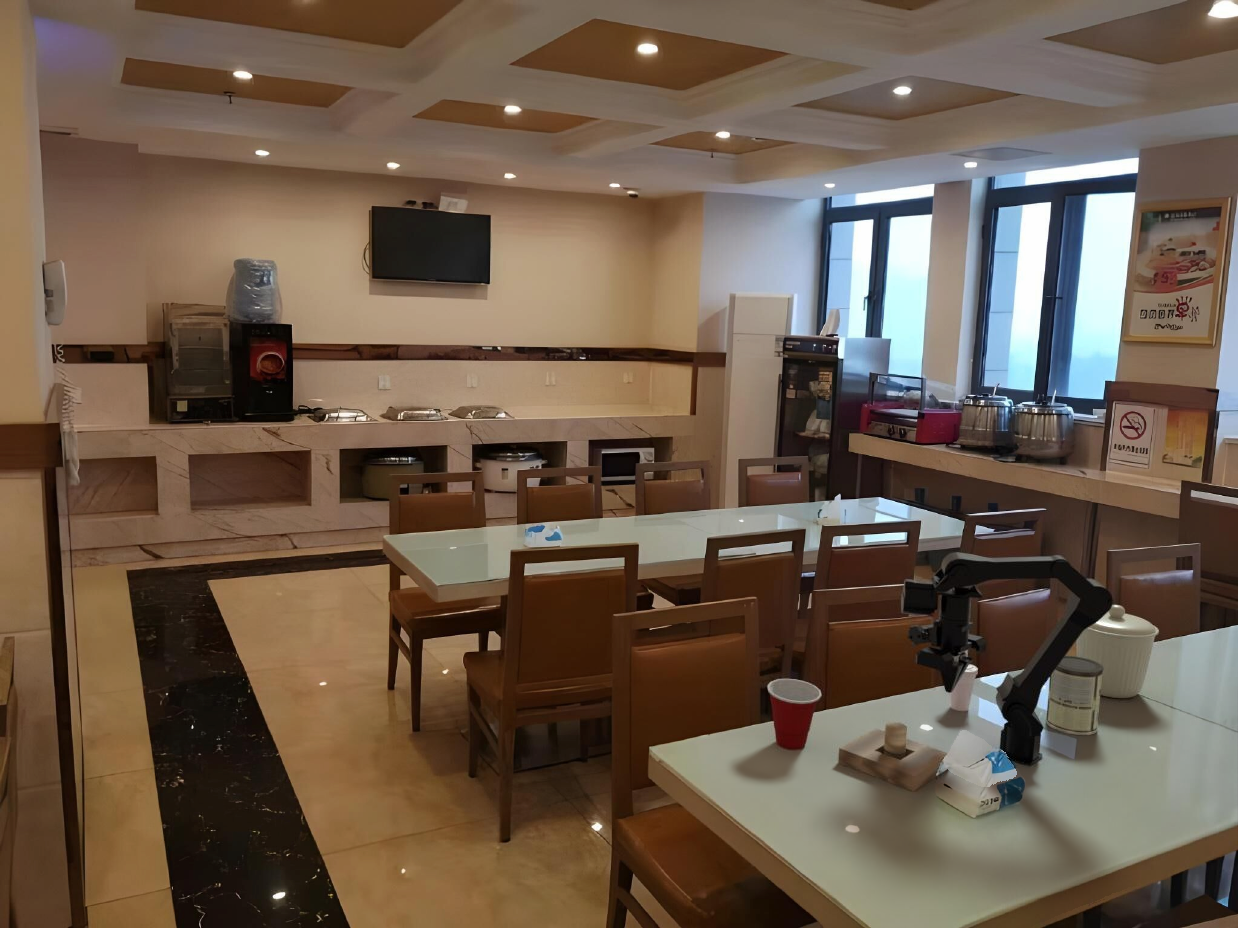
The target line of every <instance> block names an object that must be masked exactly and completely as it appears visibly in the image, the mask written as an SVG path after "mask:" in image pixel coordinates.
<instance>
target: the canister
mask: <svg viewBox="0 0 1238 928" xmlns="http://www.w3.org/2000/svg"><path fill="white" fill-rule="evenodd" d="M1159 633H1160V630H1159V628H1158V627H1156V625H1153V624H1152V623H1151V622H1150V621H1149V620H1146V619H1144V618H1142V617H1139V616H1136V615H1133V614H1129V613H1126V609H1125V608H1124V606H1122V605H1119V604H1113V605H1112V607H1111V609H1110V610H1109V611H1108V612H1107V613H1106V614H1105V615H1104V616H1103V617H1102V618H1101V619H1100V620H1099V621H1098V622H1096V623H1095V624H1093V625H1091V626H1090V627H1088V628H1086V629H1085V630H1084V631H1083V632H1082V633H1081V635H1080V636H1079V638H1078V639H1077V640H1076V642H1075V643H1076V657H1081V658H1086V659H1090V660H1093V661H1095V662H1097V663H1099V664H1101V665H1102V666H1103V668H1104V669H1103V672H1102V682H1101V692H1100V696H1103V697H1107V698H1113V699H1114V698H1115V699H1129V698H1133V697H1136V696H1137V695H1139V693H1140V692H1141V691H1142V689H1143V686H1144V683H1145V680H1146V675H1147V672H1148V668H1149V663H1150V659H1151V656H1152V655H1151V654H1152V651H1153V647H1154V641H1155V638H1156V636H1157V635H1159Z"/></svg>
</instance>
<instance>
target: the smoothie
mask: <svg viewBox="0 0 1238 928" xmlns="http://www.w3.org/2000/svg"><path fill="white" fill-rule="evenodd" d="M965 653H966V657H969V656H968V653H969V650H967V651H965ZM978 669H979V668H978V667H977V666H975V665H974V664H971V663H970V664H969V666H968V667H967V669H966V670H965V672H964V673H963V675H962V677H961V678H960V680H959V681H958V683H957V685H956V686H955V688H954V690H953V691H952V692H951V693H949V695H950V708H951V709H952V710H954V711H958V712H967V711H969V708H970V704H971V700H972V695H973V690H974V685H975V681H976V676H977V675H978V674H979V673H978Z"/></svg>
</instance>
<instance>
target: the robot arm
mask: <svg viewBox="0 0 1238 928" xmlns="http://www.w3.org/2000/svg"><path fill="white" fill-rule="evenodd" d="M1025 579H1026V580H1033V579H1035V580H1037V579H1055V580H1056V579H1057V580H1058V581H1059V582H1060V583H1061V584H1063V585H1064V586H1065V587H1066V588H1067V589H1068V590H1069V591H1070V593H1069V595H1068V597H1067V599H1066V604H1065V606H1064V607H1065V608H1064V611H1063V615H1062V616H1061V618H1060V619H1059V620H1058V621H1057V623H1056V624H1055V626H1054V627H1053V629H1052V630H1051V631H1050V633H1049V634H1048V636H1047V637H1046V639H1044V641H1043V643H1042V644H1041V645H1040V647H1039V648H1038V650H1037V651H1036V652H1035V654H1034V655H1033V656H1032V658H1031V659H1030V661H1029V662H1028V663H1027V665H1026V666H1025V668H1024V669H1023V670H1022V672H1020V673H1019V674H1018V675H1015V676H1014V677H1013V676H1012V675H1010V674H1009V673H1007V674H1006V675H1005V677H1004V678H1003V682H1002V683H1001V684H1000V685H998V686H997V687H996V688H995V689H996V695H995V702H996V705H997V707H998V709H999V711H1000V713H1001V716H1002V717H1003V718H1004V720H1005V721H1006V722H1005V723H1003V728H1002V729H1001V730H1000V739H999V749H1001V750H1003V751H1004V752H1006V754H1007V756H1008V757H1009V760H1011V761H1014V762H1017V763H1020V764H1023V765H1026V766H1032V765H1033V764H1034V763H1036V762H1037V761H1039V760H1040V759H1042V758H1043V753H1041V752H1040V751H1041V750H1040V748H1041V739H1042V732H1043V730H1044V725H1043V723H1042V721H1041V720H1040V718H1039V716H1038V715H1037V713H1036V712H1035V710H1036V708H1037V706H1038V705H1039V704H1038V703H1039V700H1040V697H1041V696H1040V695H1041V692H1042V689H1043V687H1044V686H1045V684H1046V683H1047V682H1048V681H1049V680H1050V676H1051V675H1052V673H1053V672H1054V671H1055V669H1056V668H1057V666H1058V665H1059V664H1060V662H1061V661H1062V660H1063V658H1064V657H1065V656H1067V654H1068V653H1069V651H1070V650H1071V649H1072V647H1073V646H1074V644H1075V643H1076V640H1077V639H1078V638H1079V636H1080V635H1081V633H1082V632H1083V631H1084V630H1085V629H1086V628H1088V627H1090V626H1091V625H1093V624H1095V623H1096V622H1098V621H1099V620H1100V619H1101V618H1102V617H1103V616H1104V615H1105V614H1106V613H1107V612H1108V611H1109V610H1110V609H1111V607H1112V605H1114V599H1113V595H1112V593H1111V592H1110V591H1109V590H1108V589H1107V588H1106V587H1105V586H1104V585H1102V584H1101V583H1100V582H1099V581H1098V580H1095V579H1093V578H1086V577H1085V576H1083V575H1082V574H1081V572H1079V571H1078V570H1076V569H1075V567H1074V566H1072V565H1071V563H1070V562H1069V561H1068V560H1067V559H1066V558H1064V556H1062V555H1060V554H1059V555H1057V554H1054V555H1050V556H1049V555H1048V556H1046V555H1045V556H1014V557H1013V556H1012V557H1011V556H1010V557H987V556H986V557H985V556H981V555H976V554H972V553H966V552H965V553H964V552H957V551H956V552H955V551H954V552H950V553H948V554H947V555H946V556H945V557H944V558H943V559H942V562H941V566H940V568H939V569H938V570H937V571H936V572H935V573H934V574H933V576H931V578H930V580H929V581H926V580H915V579H912V578H910V579H909V578H905V579H904V581H903V582H904V583H903V586H902V592H901V596H900V610H901V612H900V613H901V614H911V615H924V616H932V614H935V612H936V611H938V605H939V603H940V605H939V614H938V616H939V617H938V619H935V620H934V621H933V622H932V623H933V624H925V625H921V624H917V625H911V626H909V629H908V630H907V632H908V634H907V637H906V638H907V639H908V640H909V641H910V642H911V643H912V645H913V646H918V645H919V644H921V645H922V644H928V643H930V646H928V647H925V648H923V649H921V650H919V651H918V652H916V653H915V664H916V665H920V666H922V667H927V668H929V669H933V670H937V671H939V672H940V676H941V679H942V682H943V683H942V684H943V687H944V691H945V692H946V693H948V694H950V693H951V692H952V691H953V690H954V688H955V686H956V685H957V683H958V681H959V680H960V678H961V677H962V675H963V673H964V672H965V670H966V669H967V667H968V666H969V664H971V663H972V662H973V660H974V659H973V658H972V657H969V656H968V657H966V653H965V651H967V650H968V651H969V650H970V649H974V650H975V651H976V653H977V654H979V655H981V654H983V653H985V652H986V651H987V641H986V640H985V639H984V637H982V636H979V635H975V634H971V633H969V632H970V631H969V630H971V629H972V628H974V622H971V621H970V619H971V608H972V607H971V606H972V603H971V602H972V599H982V598H983V594H982V593H981V591H980V590H979V589H978V588H977V587H976V585H981V584H982V583H985V582H989V581H994V580H1025ZM939 596H940V601H939ZM936 647H938V648H936ZM1001 750H1000V751H1001Z"/></svg>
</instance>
